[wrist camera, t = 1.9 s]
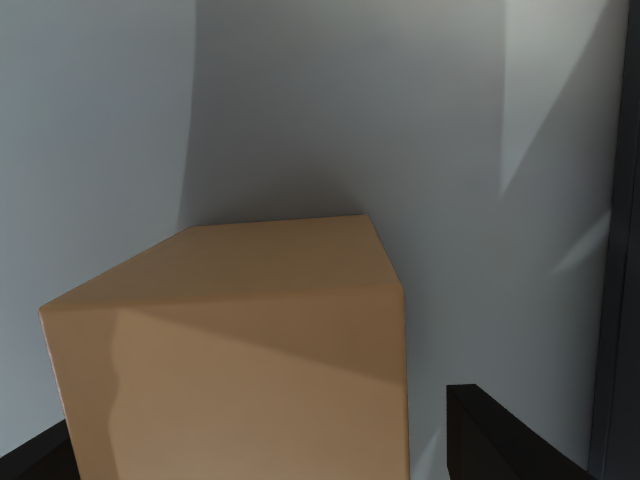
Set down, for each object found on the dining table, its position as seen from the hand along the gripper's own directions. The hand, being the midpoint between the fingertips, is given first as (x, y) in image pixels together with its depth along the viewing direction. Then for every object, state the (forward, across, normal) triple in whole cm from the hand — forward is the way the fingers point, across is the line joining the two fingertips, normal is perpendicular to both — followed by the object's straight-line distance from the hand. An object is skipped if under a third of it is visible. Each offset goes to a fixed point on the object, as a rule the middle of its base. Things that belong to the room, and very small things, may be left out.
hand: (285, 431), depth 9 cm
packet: (+2, 0, 0) cm, 2 cm away
